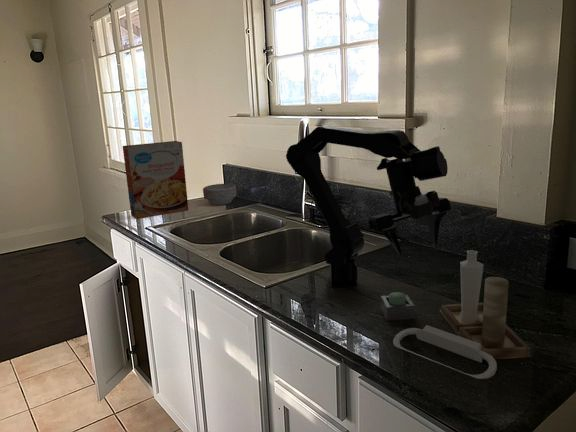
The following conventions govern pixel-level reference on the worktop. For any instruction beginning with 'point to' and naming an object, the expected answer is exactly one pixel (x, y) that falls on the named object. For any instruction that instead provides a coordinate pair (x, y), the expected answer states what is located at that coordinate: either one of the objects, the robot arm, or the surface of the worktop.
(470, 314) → the perfume bottle
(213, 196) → the paper bowls
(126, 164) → the pasta box
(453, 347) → the oval loop handle
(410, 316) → the button housing
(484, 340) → the wooden billet
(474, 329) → the divided wooden tray
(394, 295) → the button
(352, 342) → the worktop surface
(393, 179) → the robot arm
